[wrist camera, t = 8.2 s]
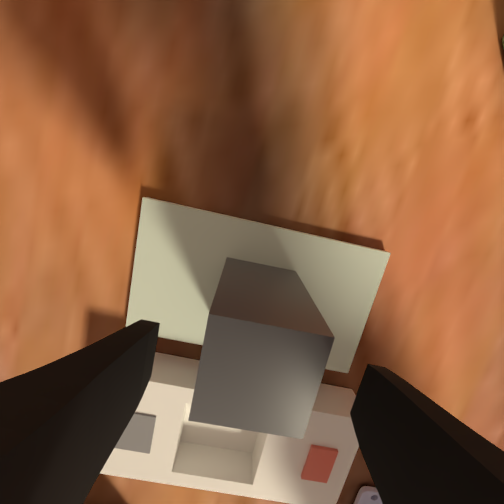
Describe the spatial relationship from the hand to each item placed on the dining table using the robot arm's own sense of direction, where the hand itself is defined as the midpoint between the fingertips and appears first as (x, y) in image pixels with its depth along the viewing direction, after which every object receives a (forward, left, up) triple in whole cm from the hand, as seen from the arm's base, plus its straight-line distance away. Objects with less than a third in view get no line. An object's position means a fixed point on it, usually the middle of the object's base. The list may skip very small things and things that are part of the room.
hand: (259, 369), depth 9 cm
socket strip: (0, +9, -7) cm, 12 cm away
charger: (0, 0, -7) cm, 7 cm away
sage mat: (0, 0, -7) cm, 7 cm away
